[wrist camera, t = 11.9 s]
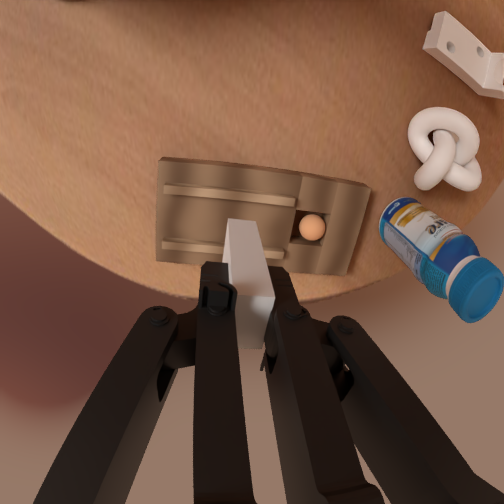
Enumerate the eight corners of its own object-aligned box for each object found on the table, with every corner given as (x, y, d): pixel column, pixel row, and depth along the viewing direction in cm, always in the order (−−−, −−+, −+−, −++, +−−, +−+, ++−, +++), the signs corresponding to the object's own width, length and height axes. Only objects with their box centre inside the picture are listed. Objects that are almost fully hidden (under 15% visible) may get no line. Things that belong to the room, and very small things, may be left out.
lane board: (159, 251, 40) (154, 265, 37) (162, 156, 34) (156, 162, 31) (339, 267, 44) (348, 280, 41) (363, 183, 38) (375, 191, 35)
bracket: (485, 61, 29) (518, 63, 23) (477, 95, 32) (510, 100, 26) (431, 14, 26) (463, 6, 20) (421, 49, 29) (455, 45, 23)
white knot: (463, 122, 34) (504, 133, 26) (445, 193, 40) (482, 215, 32) (409, 97, 33) (450, 102, 25) (391, 178, 38) (427, 199, 30)
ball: (291, 236, 39) (312, 247, 37) (296, 212, 38) (318, 222, 36) (306, 231, 42) (326, 241, 40) (312, 208, 40) (332, 218, 38)
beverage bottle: (367, 239, 42) (442, 329, 25) (390, 186, 39) (486, 255, 21) (408, 251, 44) (482, 332, 26) (429, 204, 40) (519, 271, 23)
